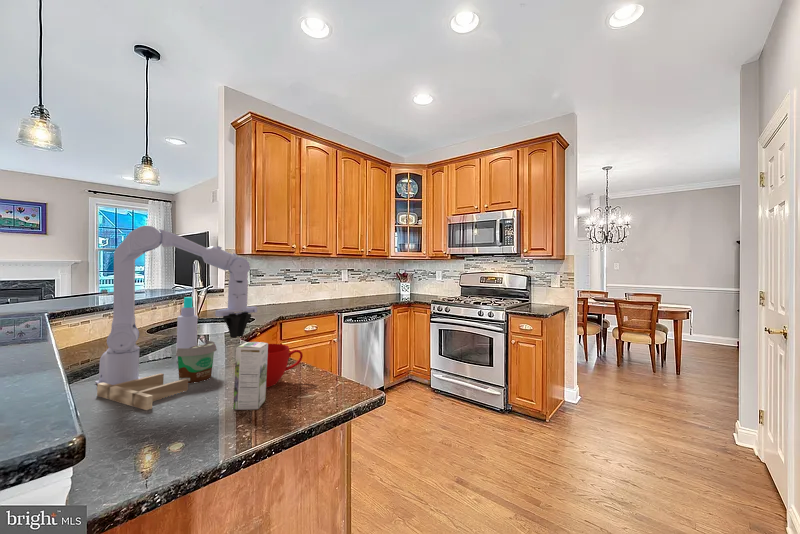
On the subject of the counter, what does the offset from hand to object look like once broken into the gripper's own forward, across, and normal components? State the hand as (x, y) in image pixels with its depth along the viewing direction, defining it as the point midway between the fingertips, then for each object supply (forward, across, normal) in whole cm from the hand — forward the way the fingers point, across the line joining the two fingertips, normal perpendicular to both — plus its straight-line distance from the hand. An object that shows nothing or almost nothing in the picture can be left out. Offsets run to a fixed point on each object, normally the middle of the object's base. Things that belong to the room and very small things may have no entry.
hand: (236, 336), depth 114 cm
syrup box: (+11, -20, -28) cm, 36 cm away
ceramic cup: (+11, -5, -20) cm, 23 cm away
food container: (+11, -12, 0) cm, 16 cm away
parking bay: (+10, -26, 0) cm, 28 cm away
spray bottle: (+11, 0, +24) cm, 26 cm away
